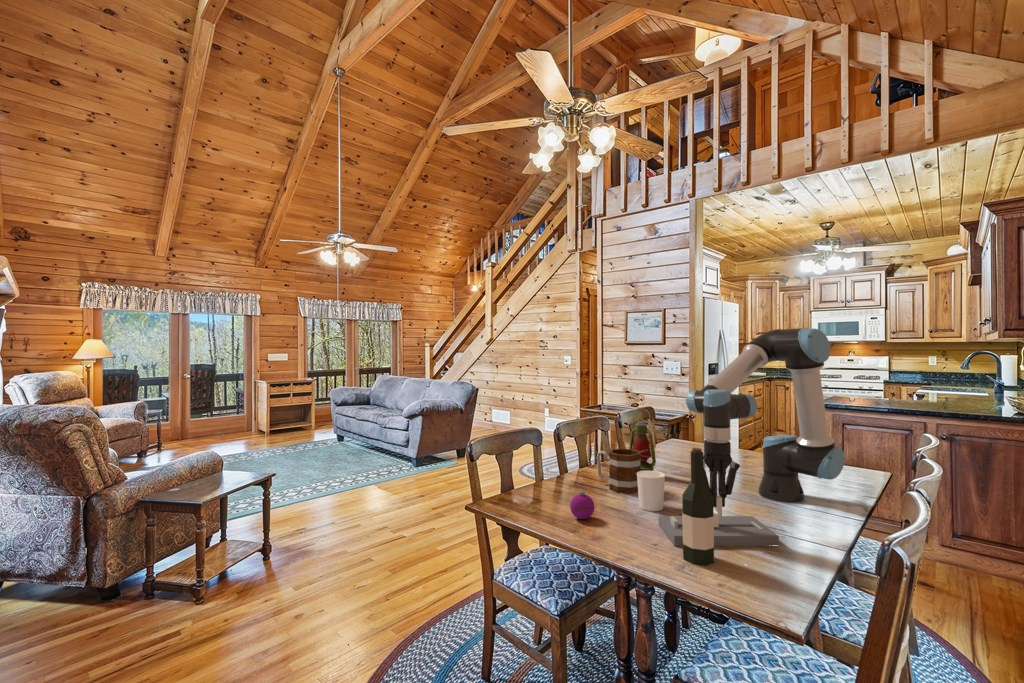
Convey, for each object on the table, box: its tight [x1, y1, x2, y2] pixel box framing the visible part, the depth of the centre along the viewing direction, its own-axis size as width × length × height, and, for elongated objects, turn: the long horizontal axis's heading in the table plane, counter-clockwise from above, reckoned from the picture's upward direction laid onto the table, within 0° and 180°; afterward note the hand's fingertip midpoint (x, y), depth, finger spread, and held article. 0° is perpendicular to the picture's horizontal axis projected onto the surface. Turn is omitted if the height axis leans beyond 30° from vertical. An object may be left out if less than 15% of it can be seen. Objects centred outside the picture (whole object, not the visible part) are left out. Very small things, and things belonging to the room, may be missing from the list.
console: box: [658, 515, 780, 547], centre depth 145 cm, size 30×16×5 cm, turn 88°
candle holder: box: [637, 470, 666, 512], centre depth 170 cm, size 10×10×12 cm
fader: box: [713, 508, 719, 527], centre depth 145 cm, size 2×5×4 cm, turn 178°
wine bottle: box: [681, 447, 715, 567], centre depth 129 cm, size 8×8×30 cm
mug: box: [596, 447, 641, 495], centre depth 195 cm, size 20×14×15 cm
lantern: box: [628, 407, 657, 471], centre depth 212 cm, size 14×11×30 cm
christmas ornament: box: [569, 488, 596, 520], centre depth 160 cm, size 8×8×10 cm
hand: (718, 517), depth 145 cm, fingers closed
